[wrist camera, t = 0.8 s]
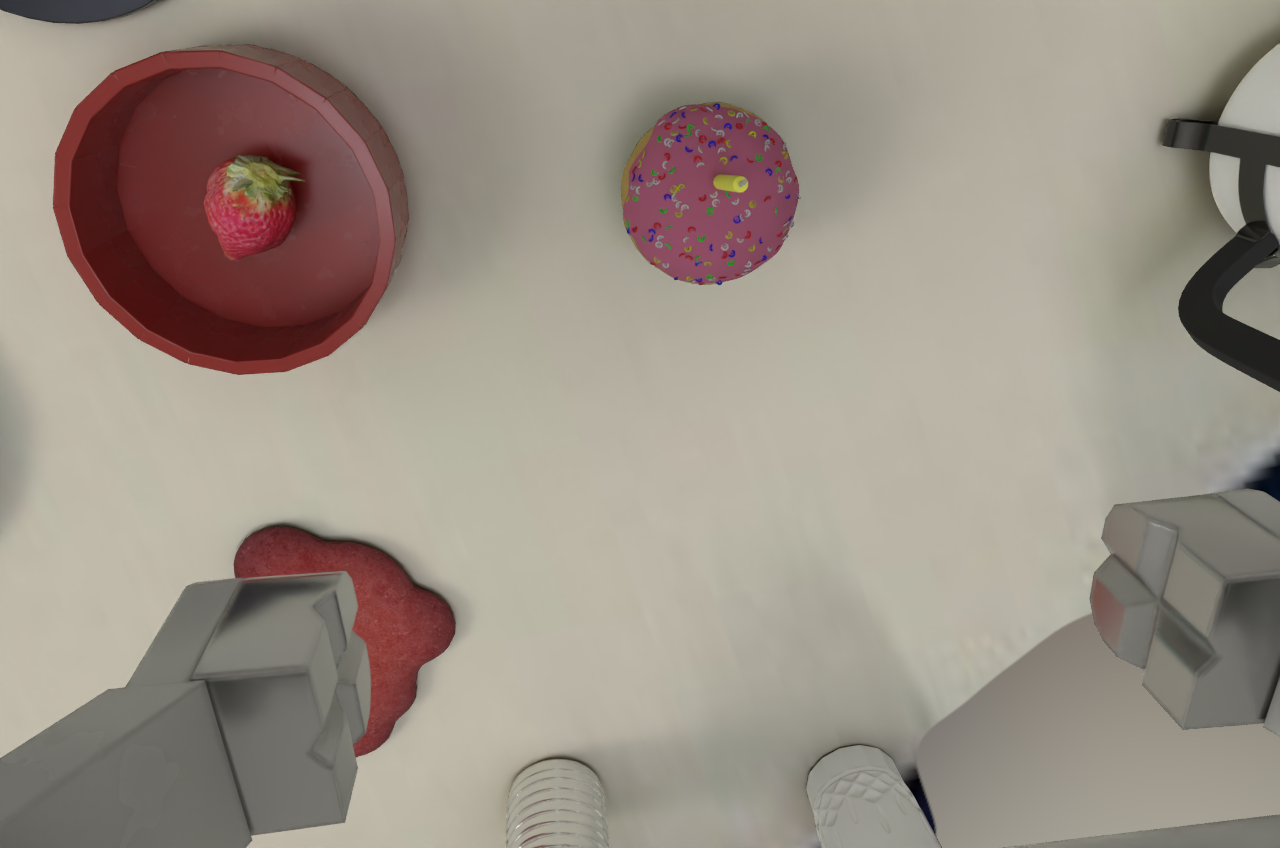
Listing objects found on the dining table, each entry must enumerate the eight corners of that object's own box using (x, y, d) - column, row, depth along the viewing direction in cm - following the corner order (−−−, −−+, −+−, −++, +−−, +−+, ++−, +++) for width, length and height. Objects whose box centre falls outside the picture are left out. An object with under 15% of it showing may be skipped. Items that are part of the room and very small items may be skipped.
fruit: (189, 225, 45) (152, 250, 41) (247, 124, 44) (215, 139, 39) (268, 273, 47) (240, 303, 42) (327, 178, 45) (305, 198, 41)
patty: (263, 498, 53) (253, 516, 51) (481, 587, 57) (479, 607, 55) (159, 711, 58) (147, 734, 56) (364, 778, 62) (360, 801, 60)
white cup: (781, 808, 68) (820, 933, 59) (823, 729, 65) (870, 847, 56) (875, 823, 70) (927, 946, 61) (919, 747, 67) (980, 864, 58)
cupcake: (609, 97, 45) (634, 128, 35) (777, 88, 46) (853, 116, 35) (618, 265, 49) (642, 341, 38) (773, 255, 50) (840, 327, 39)
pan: (68, 49, 42) (7, 56, 37) (386, 39, 43) (368, 44, 38) (148, 344, 48) (105, 383, 43) (424, 327, 49) (413, 364, 45)
